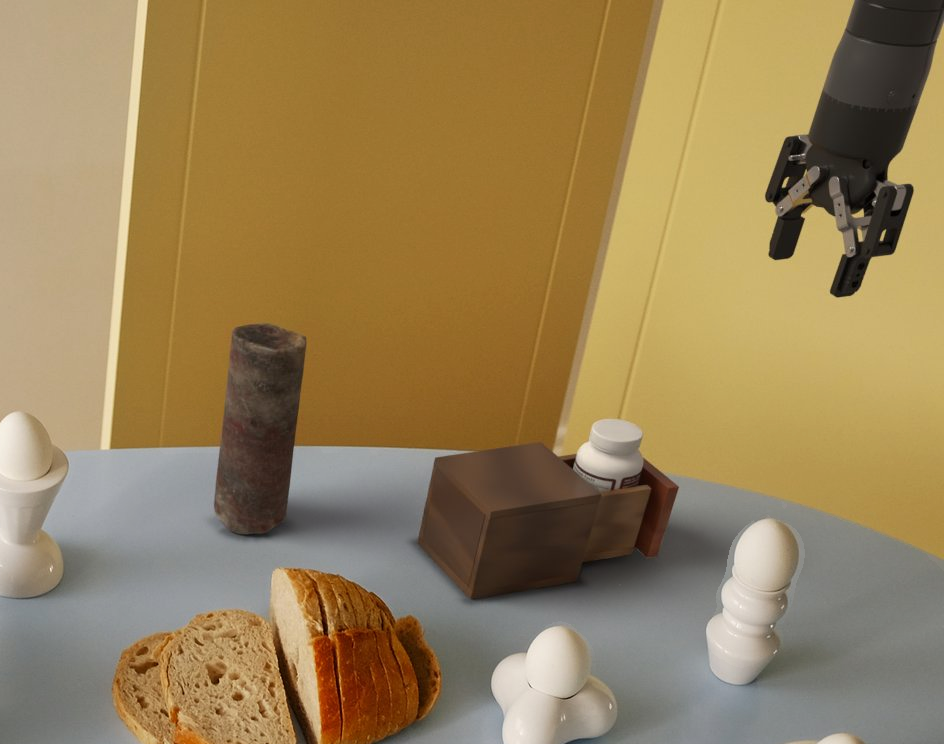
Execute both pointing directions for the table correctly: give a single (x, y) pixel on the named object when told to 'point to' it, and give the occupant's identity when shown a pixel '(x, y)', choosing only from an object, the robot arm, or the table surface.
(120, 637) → the table surface
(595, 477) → the pill bottle
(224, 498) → the brown clay vase
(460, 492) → the cabinet
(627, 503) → the drawer
